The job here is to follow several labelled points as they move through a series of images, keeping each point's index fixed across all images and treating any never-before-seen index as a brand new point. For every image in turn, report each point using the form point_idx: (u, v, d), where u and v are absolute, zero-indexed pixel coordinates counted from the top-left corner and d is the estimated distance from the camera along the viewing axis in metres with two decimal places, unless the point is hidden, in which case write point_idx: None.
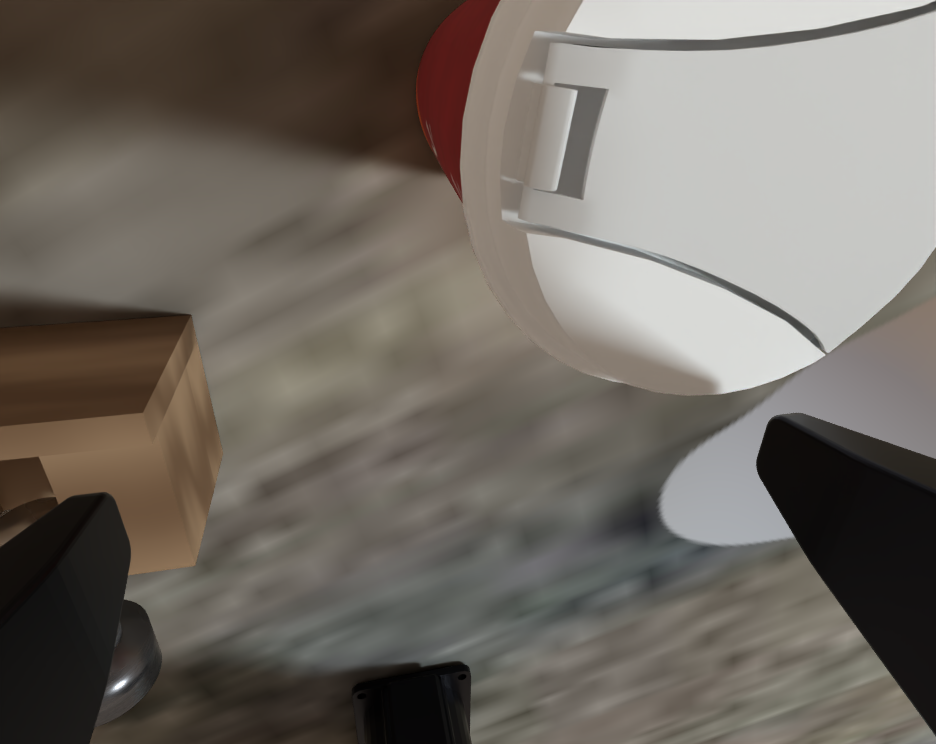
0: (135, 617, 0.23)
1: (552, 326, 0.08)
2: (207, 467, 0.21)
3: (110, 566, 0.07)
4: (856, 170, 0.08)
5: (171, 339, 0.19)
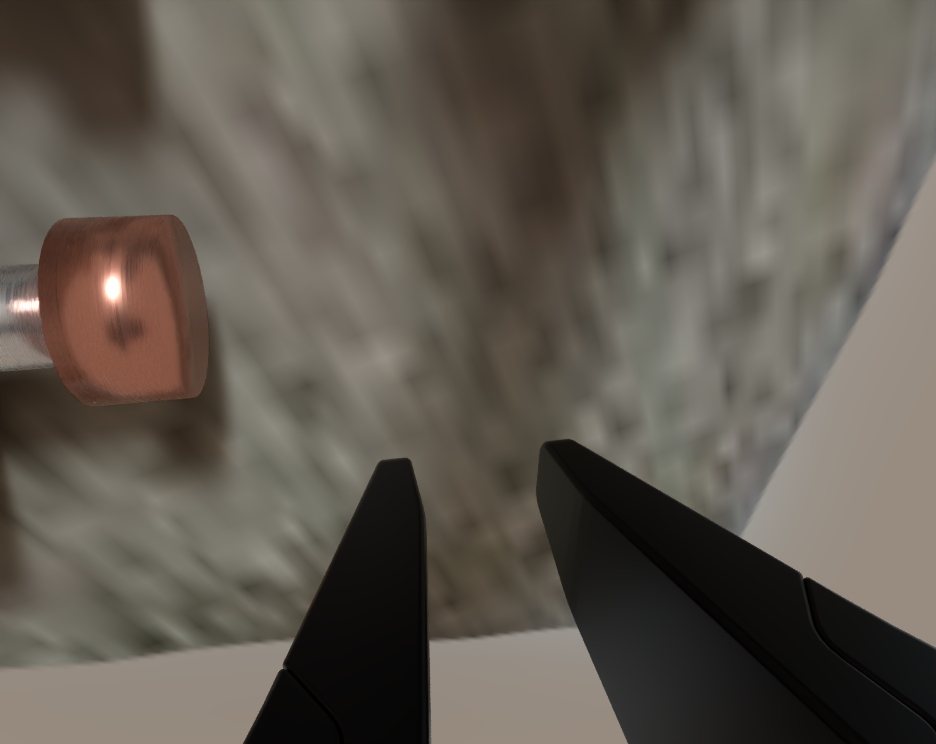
0: None
1: None
2: None
3: None
4: None
5: None
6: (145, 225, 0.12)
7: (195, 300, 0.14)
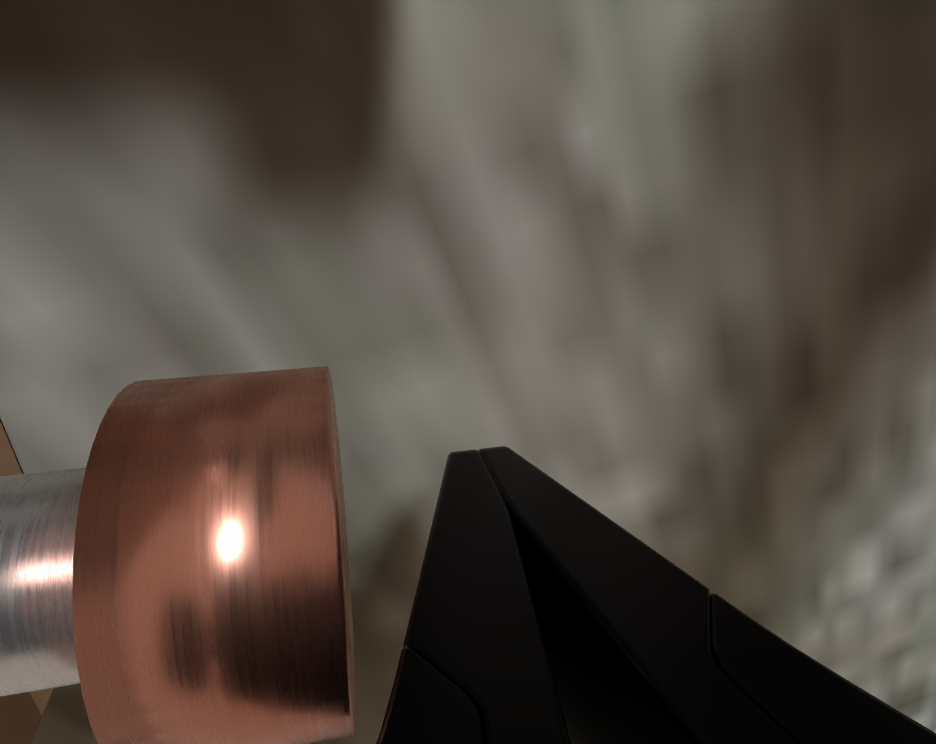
0: None
1: None
2: None
3: None
4: None
5: None
6: (294, 416, 0.06)
7: (341, 498, 0.08)
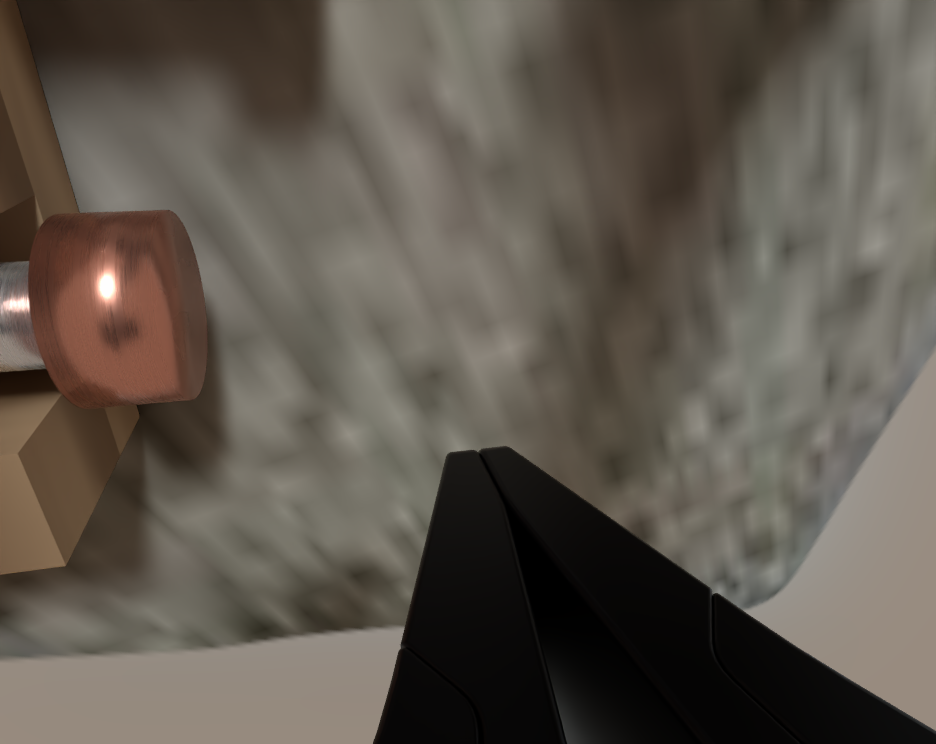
0: None
1: None
2: None
3: None
4: None
5: None
6: (140, 221, 0.11)
7: (193, 299, 0.14)
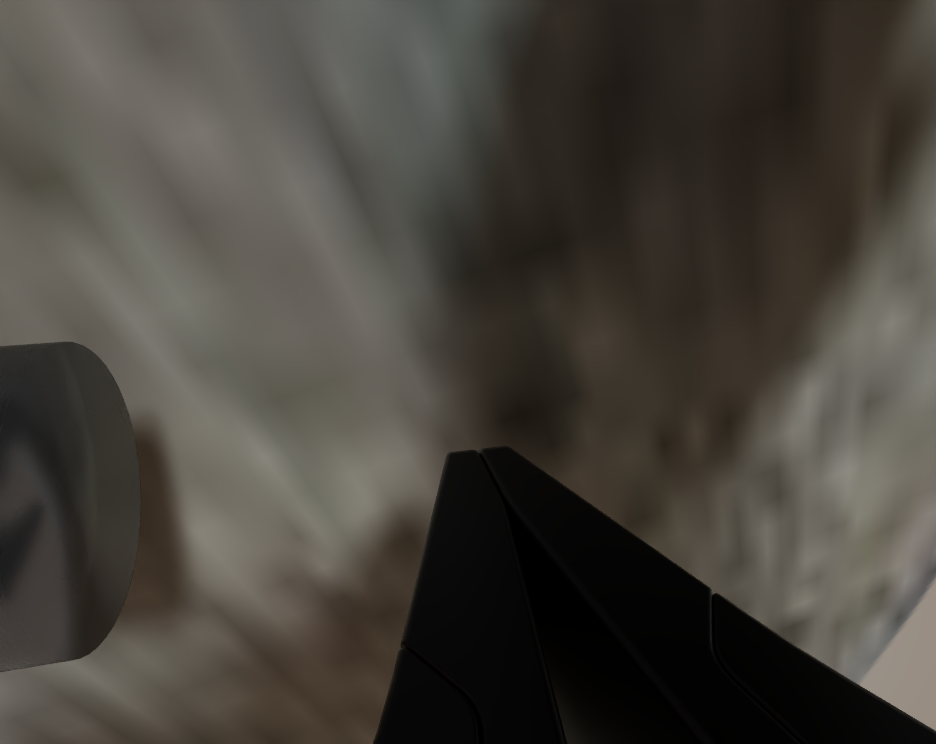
0: None
1: None
2: None
3: None
4: None
5: None
6: None
7: None
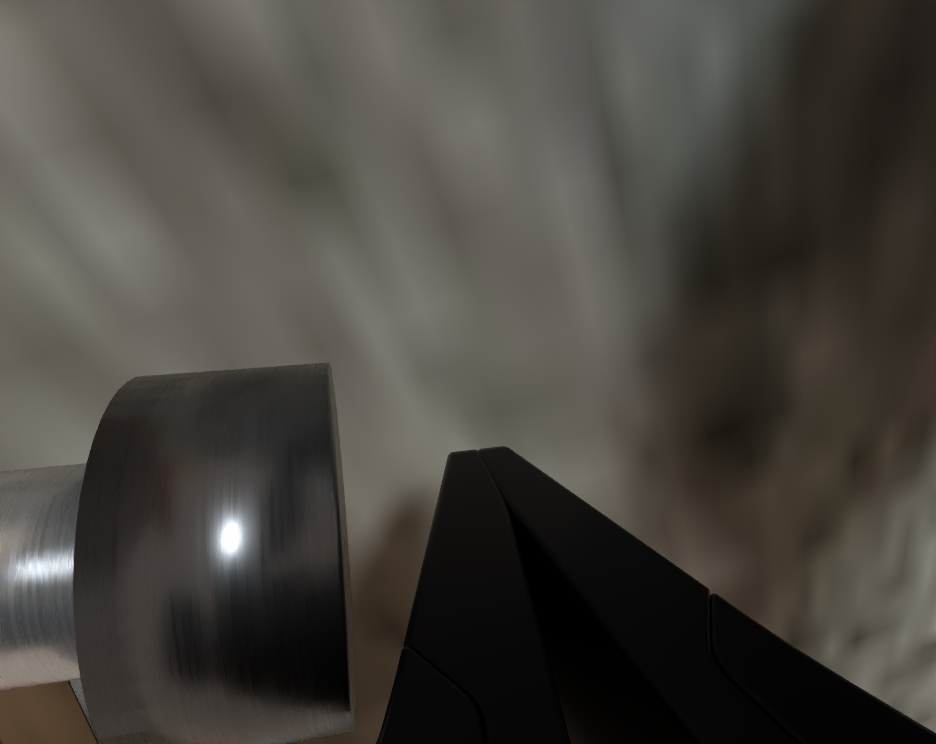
0: None
1: None
2: None
3: None
4: None
5: None
6: None
7: None
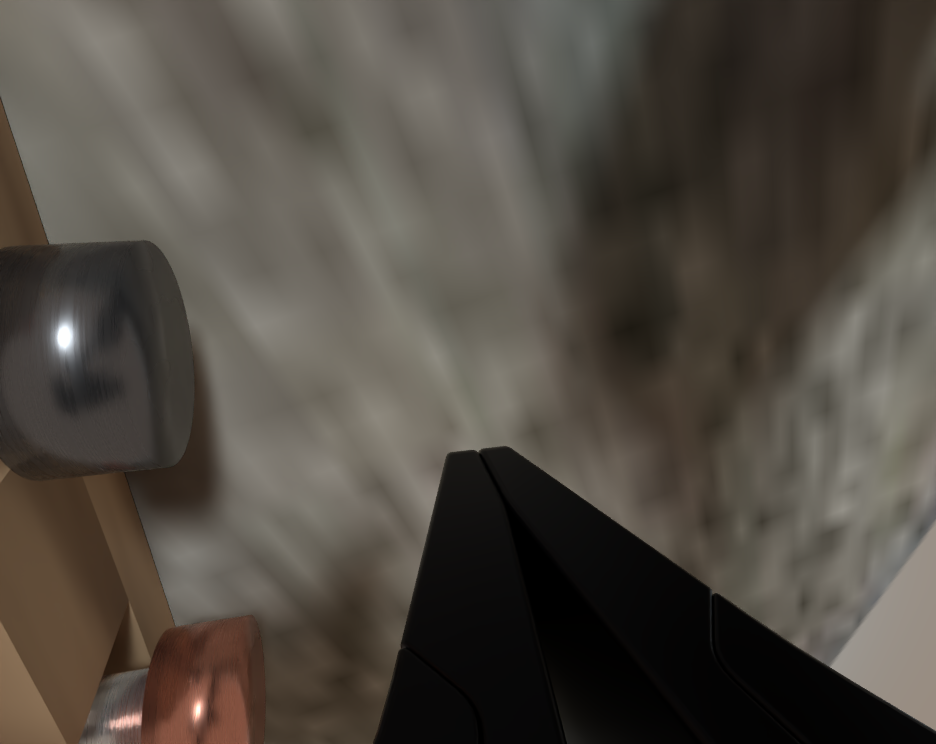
0: None
1: None
2: None
3: None
4: None
5: None
6: (224, 664, 0.14)
7: (256, 669, 0.16)
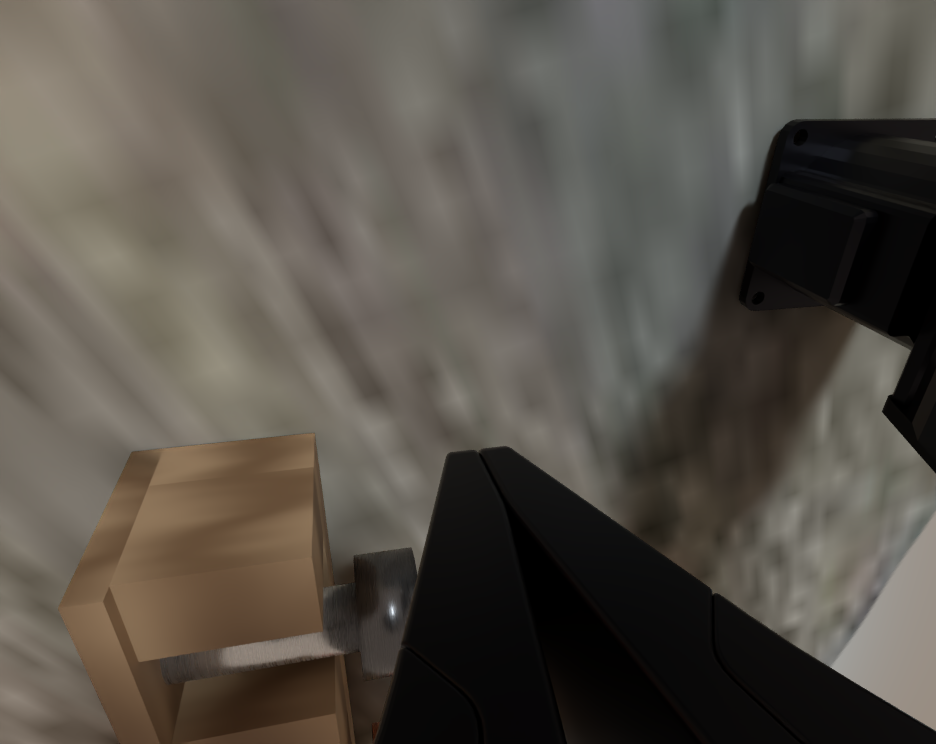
0: None
1: None
2: (277, 478, 0.19)
3: None
4: None
5: (116, 495, 0.18)
6: None
7: None
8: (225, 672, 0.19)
